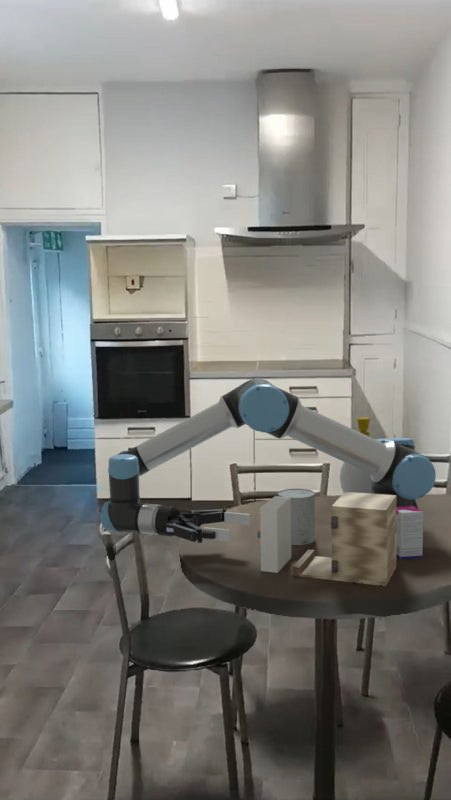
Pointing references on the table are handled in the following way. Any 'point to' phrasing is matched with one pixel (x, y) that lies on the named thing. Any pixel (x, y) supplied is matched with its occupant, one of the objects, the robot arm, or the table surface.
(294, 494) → the grey cylinder
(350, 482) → the soap bottle
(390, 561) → the cabinet
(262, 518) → the door
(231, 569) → the table surface
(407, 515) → the supplement box
